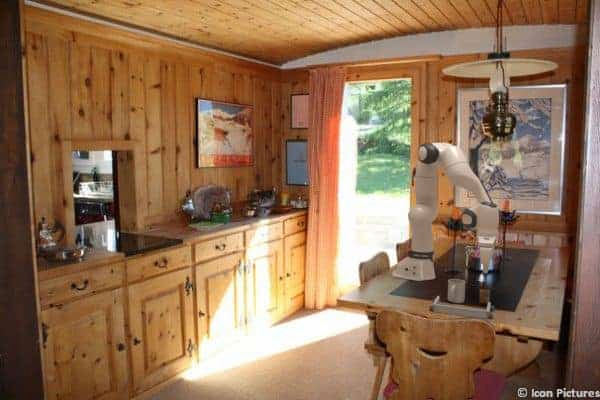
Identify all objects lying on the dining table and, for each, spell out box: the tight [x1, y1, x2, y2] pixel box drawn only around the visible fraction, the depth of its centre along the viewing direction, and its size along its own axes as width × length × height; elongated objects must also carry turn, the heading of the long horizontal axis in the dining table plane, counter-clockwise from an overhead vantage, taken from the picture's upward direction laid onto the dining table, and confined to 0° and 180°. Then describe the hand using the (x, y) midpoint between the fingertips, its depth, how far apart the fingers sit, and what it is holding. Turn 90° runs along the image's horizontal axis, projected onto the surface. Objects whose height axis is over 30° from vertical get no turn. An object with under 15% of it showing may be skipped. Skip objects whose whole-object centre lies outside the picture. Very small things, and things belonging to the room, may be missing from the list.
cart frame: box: [428, 295, 495, 320], centre depth 210 cm, size 25×13×3 cm, turn 66°
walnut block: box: [478, 288, 491, 304], centre depth 221 cm, size 4×4×5 cm
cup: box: [447, 278, 466, 304], centre depth 221 cm, size 7×10×9 cm
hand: (486, 270), depth 220 cm, fingers open, 8 cm apart
